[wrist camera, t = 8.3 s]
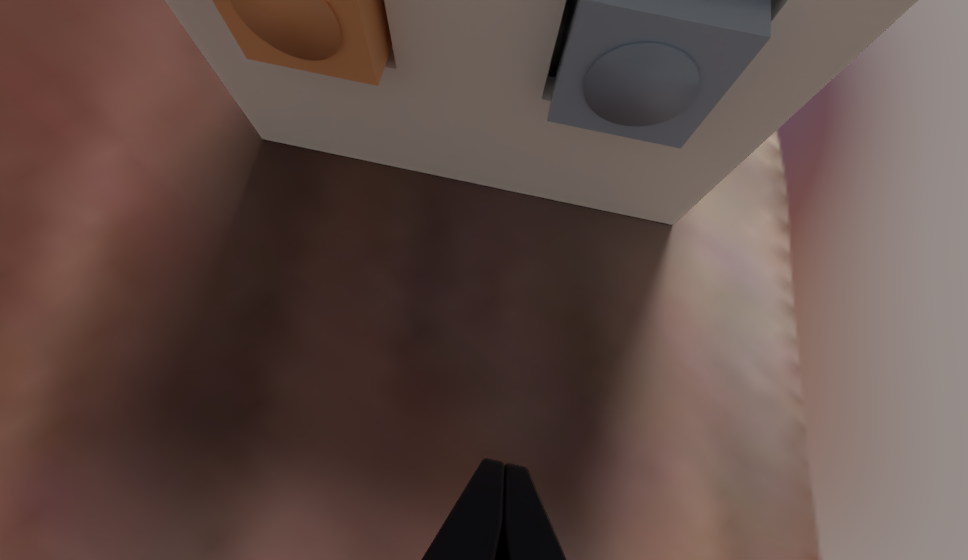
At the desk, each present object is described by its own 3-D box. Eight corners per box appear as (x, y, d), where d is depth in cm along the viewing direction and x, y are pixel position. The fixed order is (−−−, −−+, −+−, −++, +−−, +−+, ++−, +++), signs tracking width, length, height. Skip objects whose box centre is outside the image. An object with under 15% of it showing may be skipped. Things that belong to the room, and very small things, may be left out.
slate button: (680, 152, 14) (770, 42, 10) (546, 124, 14) (580, 4, 10) (688, 54, 16) (771, -80, 11) (564, 29, 16) (602, -114, 11)
